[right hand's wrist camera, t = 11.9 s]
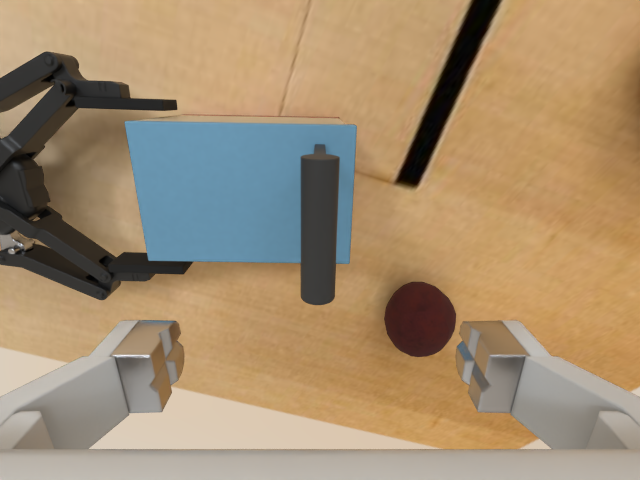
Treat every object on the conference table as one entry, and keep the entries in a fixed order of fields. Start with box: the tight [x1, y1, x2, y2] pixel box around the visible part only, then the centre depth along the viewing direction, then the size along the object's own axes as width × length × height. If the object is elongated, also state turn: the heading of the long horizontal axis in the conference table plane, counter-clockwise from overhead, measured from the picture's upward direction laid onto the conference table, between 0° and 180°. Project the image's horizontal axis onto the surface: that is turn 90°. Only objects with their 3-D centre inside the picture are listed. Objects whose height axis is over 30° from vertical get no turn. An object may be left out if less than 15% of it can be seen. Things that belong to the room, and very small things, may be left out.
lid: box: [125, 121, 357, 305], centre depth 22 cm, size 15×10×9 cm, turn 89°
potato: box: [384, 282, 456, 357], centre depth 38 cm, size 7×8×7 cm
